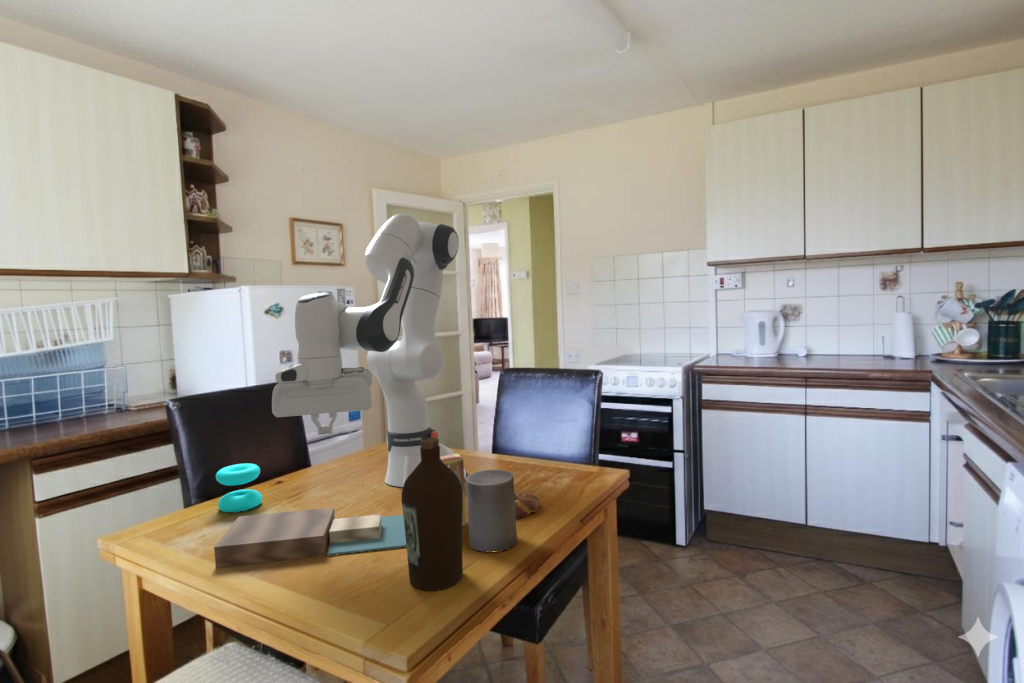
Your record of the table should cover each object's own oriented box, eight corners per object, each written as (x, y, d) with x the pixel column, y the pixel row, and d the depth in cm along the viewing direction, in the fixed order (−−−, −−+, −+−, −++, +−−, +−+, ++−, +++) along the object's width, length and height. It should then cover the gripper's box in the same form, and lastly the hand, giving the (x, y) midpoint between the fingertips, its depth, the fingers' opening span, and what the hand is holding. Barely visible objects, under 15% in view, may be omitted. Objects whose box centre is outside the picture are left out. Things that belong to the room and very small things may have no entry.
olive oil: (455, 559, 108) (449, 429, 106) (474, 584, 98) (468, 441, 96) (399, 572, 103) (392, 437, 102) (414, 599, 94) (406, 450, 92)
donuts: (233, 461, 147) (268, 462, 145) (236, 499, 147) (270, 500, 146) (205, 473, 137) (243, 474, 135) (209, 513, 138) (245, 515, 136)
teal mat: (409, 516, 131) (409, 514, 131) (409, 546, 114) (409, 544, 114) (337, 523, 128) (337, 521, 128) (327, 556, 111) (327, 553, 111)
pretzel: (528, 499, 140) (527, 485, 140) (549, 514, 130) (548, 498, 130) (482, 508, 135) (482, 492, 135) (501, 523, 125) (500, 507, 125)
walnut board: (335, 524, 127) (334, 507, 127) (324, 555, 112) (323, 535, 111) (240, 534, 124) (238, 516, 124) (215, 567, 108) (214, 547, 108)
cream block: (381, 525, 125) (381, 514, 125) (379, 538, 118) (379, 526, 118) (334, 530, 123) (333, 519, 123) (329, 543, 116) (329, 531, 116)
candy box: (460, 519, 128) (457, 452, 127) (467, 526, 124) (463, 457, 123) (422, 527, 124) (418, 458, 123) (428, 534, 120) (424, 463, 119)
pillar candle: (512, 530, 120) (508, 461, 119) (521, 550, 111) (517, 474, 110) (466, 536, 119) (462, 466, 118) (471, 556, 109) (467, 479, 108)
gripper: (371, 364, 125) (376, 426, 127) (273, 371, 122) (279, 434, 123) (370, 368, 119) (374, 432, 120) (267, 375, 115) (272, 441, 116)
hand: (325, 433), depth 121 cm, fingers closed
